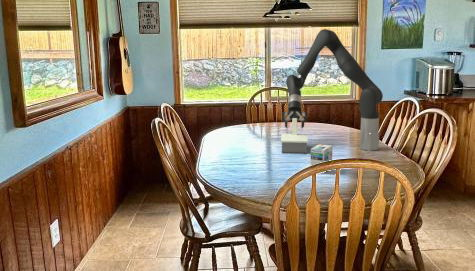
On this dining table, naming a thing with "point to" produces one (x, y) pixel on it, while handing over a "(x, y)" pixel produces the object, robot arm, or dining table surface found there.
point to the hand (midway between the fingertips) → (294, 127)
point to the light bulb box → (321, 154)
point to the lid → (294, 135)
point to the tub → (294, 148)
